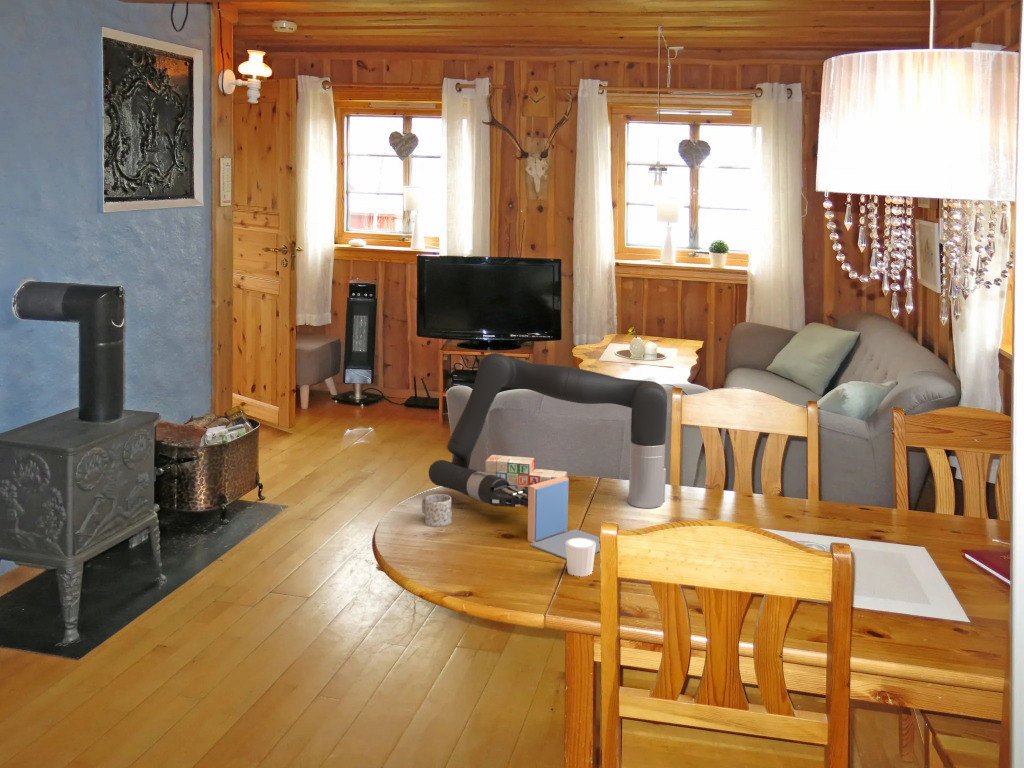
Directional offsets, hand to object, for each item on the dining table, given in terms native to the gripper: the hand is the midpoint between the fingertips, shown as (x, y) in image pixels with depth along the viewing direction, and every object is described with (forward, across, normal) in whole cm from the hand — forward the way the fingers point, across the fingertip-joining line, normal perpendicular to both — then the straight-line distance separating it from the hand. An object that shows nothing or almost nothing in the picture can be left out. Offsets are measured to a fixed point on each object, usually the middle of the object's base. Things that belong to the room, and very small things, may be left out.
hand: (534, 504), depth 258 cm
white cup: (+26, -11, +7) cm, 29 cm away
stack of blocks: (-17, +13, +7) cm, 23 cm away
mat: (+14, 0, +7) cm, 15 cm away
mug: (-22, -14, +7) cm, 27 cm away
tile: (+5, 0, +7) cm, 8 cm away
